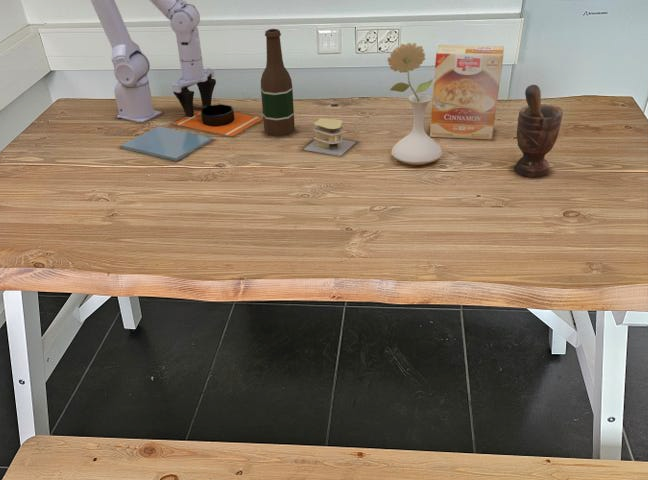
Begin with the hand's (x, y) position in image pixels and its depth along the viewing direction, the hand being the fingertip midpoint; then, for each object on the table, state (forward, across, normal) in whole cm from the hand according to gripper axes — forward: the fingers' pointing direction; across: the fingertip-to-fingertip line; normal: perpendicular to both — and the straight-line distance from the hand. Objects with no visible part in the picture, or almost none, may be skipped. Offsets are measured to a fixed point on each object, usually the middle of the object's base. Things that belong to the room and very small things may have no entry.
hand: (198, 112), depth 182 cm
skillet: (+1, 0, -4) cm, 4 cm away
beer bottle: (+2, +1, -26) cm, 26 cm away
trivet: (+2, -18, -4) cm, 19 cm away
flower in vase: (+2, +1, -62) cm, 63 cm away
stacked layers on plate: (+2, -1, -42) cm, 42 cm away
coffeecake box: (+2, +20, -66) cm, 69 cm away
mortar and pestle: (+2, +5, -88) cm, 89 cm away
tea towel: (+2, 0, -6) cm, 7 cm away
